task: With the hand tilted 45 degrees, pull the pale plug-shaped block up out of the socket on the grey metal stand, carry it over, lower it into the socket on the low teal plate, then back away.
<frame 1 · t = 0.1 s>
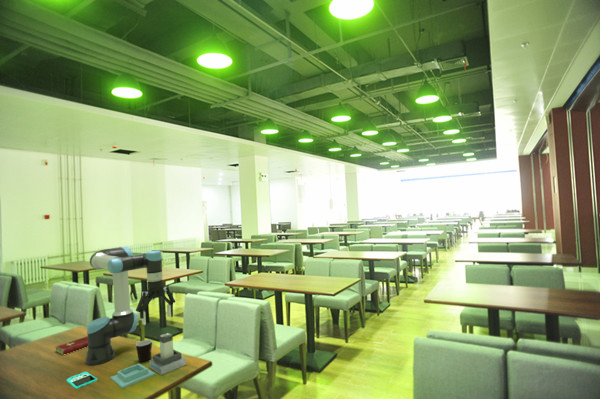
hand: (157, 320, 180), 28 cm above the table, tool pointing down, fingers open, 13 cm apart
coffee mug: (146, 359, 199), on the table
upper socket stand: (167, 366, 188), on the table
lower socket plate: (132, 377, 178), on the table
handheld game console: (81, 381, 178), on the table
hardcover book: (77, 348, 224), on the table
plug block: (167, 358, 188), point 4 cm above the table, touching upper socket stand
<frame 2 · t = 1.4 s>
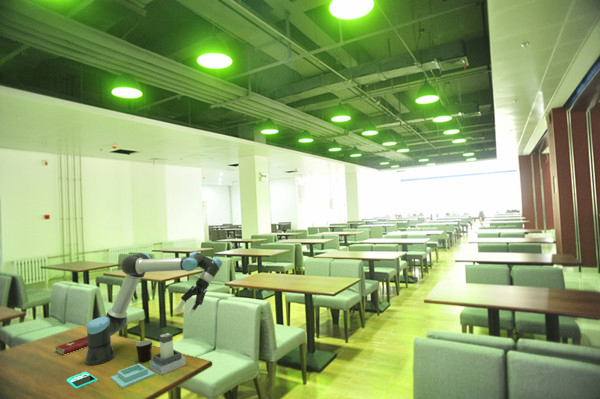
hand: (183, 312, 196), 27 cm above the table, tool tilted 45°, fingers open, 13 cm apart
nothing on the table moved.
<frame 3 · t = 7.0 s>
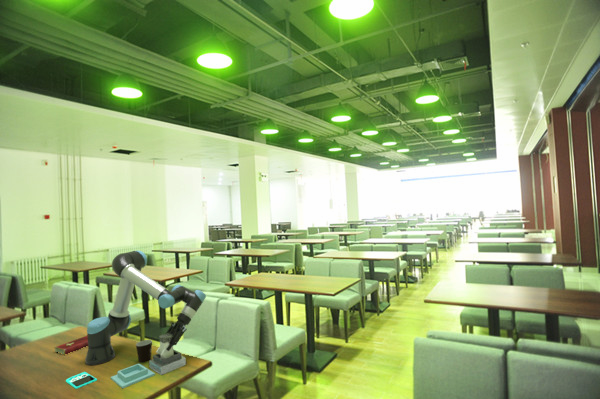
hand: (160, 354, 185), 8 cm above the table, tool tilted 45°, fingers closed on plug block, 5 cm apart
plug block: (167, 358, 188), point 4 cm above the table, touching gripper, upper socket stand
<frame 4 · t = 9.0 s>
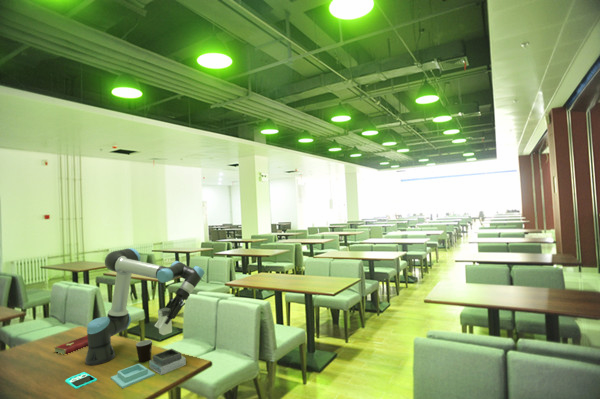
hand: (158, 328, 186), 22 cm above the table, tool tilted 45°, fingers closed on plug block, 5 cm apart
plug block: (165, 332, 188), point 18 cm above the table, touching gripper
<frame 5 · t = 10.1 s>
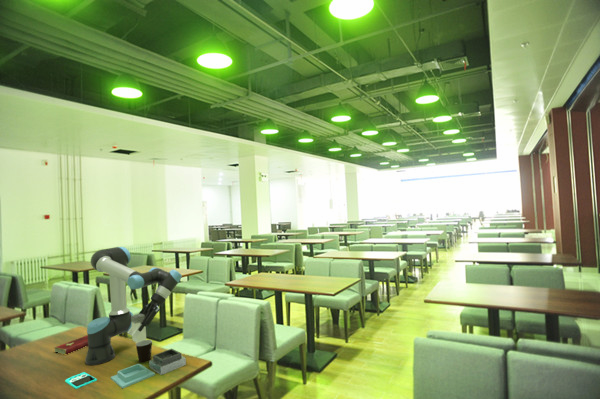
hand: (131, 335, 177), 22 cm above the table, tool tilted 45°, fingers closed on plug block, 5 cm apart
plug block: (139, 340, 180), point 18 cm above the table, touching gripper
everything else where it was.
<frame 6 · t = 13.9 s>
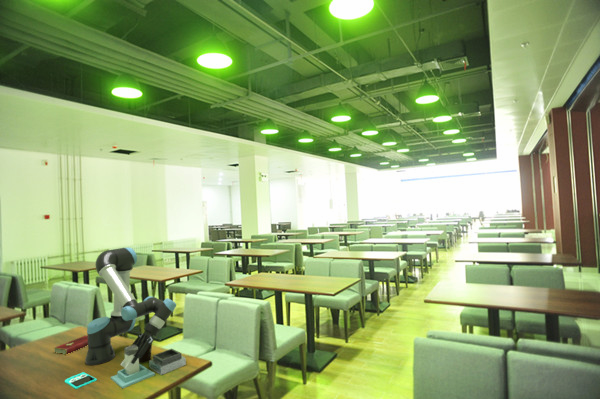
hand: (124, 367, 176), 6 cm above the table, tool tilted 45°, fingers closed on plug block, 5 cm apart
plug block: (132, 372, 178), point 2 cm above the table, touching gripper
when the fingers open (6 cm above the table, at t = 13.9 s): plug block drops 1 cm, resting on lower socket plate.
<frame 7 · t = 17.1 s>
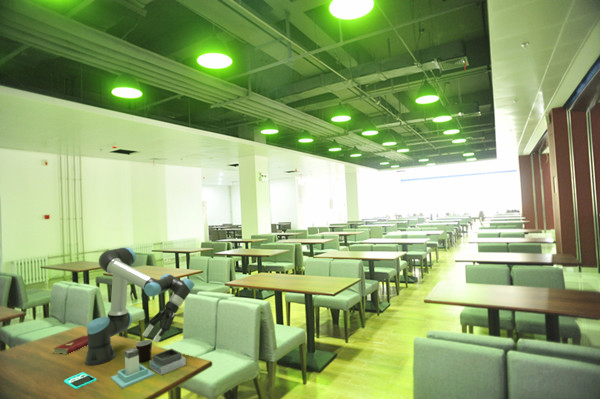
hand: (149, 338, 185), 17 cm above the table, tool tilted 45°, fingers open, 13 cm apart
plug block: (132, 375, 178), point 1 cm above the table, touching lower socket plate
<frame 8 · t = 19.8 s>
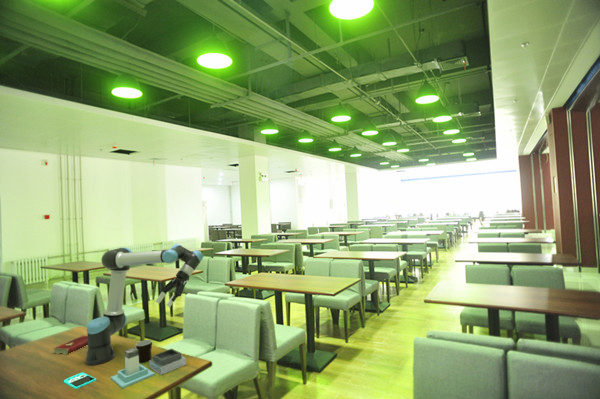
hand: (162, 304, 198), 32 cm above the table, tool tilted 45°, fingers open, 13 cm apart
at the end: plug block 0.0 cm off-centre on the lower socket plate, point 1.0 cm above the lower socket plate's base; plug block tilted 0°; the gripper is holding nothing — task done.
